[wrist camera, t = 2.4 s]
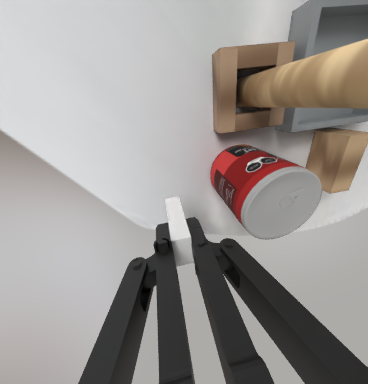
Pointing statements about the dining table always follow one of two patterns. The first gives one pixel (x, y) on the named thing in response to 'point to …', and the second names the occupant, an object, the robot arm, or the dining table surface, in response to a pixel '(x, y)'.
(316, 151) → the wooden block
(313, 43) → the tray
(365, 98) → the dowel
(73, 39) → the dining table surface
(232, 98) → the holder
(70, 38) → the dining table surface
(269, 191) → the canned food
